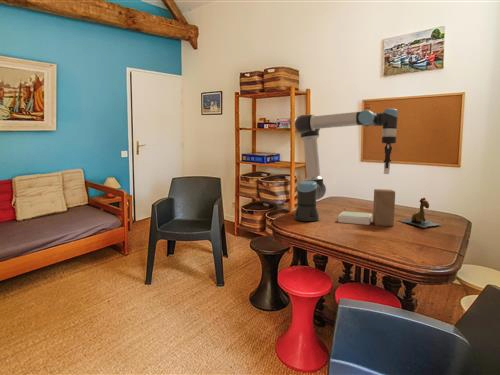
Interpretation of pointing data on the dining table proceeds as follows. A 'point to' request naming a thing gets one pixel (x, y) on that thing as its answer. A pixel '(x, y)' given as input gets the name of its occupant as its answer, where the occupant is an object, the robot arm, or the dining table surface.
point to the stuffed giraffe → (420, 216)
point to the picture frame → (355, 218)
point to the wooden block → (384, 207)
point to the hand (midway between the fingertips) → (386, 173)
